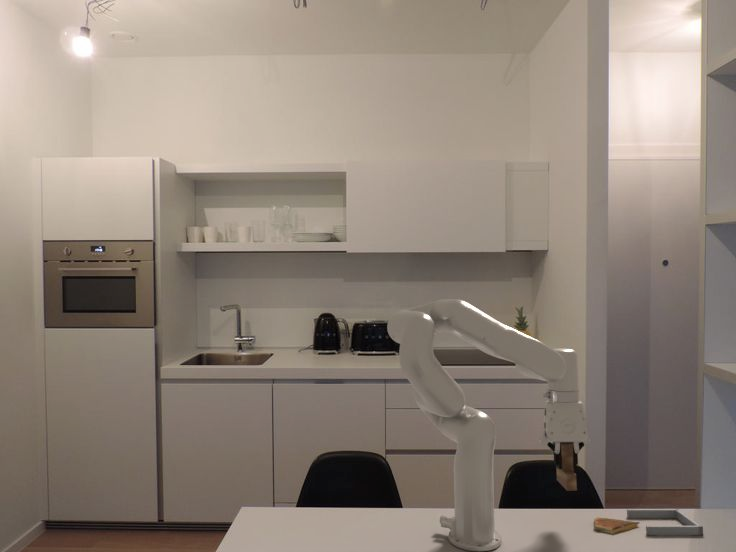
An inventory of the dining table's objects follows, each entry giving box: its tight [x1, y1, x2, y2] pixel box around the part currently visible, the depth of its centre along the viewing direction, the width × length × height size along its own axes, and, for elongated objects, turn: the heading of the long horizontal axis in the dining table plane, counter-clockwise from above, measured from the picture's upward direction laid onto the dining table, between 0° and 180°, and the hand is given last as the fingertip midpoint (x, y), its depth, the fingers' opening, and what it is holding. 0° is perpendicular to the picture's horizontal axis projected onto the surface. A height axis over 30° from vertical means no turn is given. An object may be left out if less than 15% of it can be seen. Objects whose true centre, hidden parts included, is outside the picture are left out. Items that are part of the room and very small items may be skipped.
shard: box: [593, 517, 640, 535], centre depth 140 cm, size 11×8×2 cm
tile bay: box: [626, 508, 704, 536], centre depth 142 cm, size 14×12×2 cm
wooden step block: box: [555, 442, 578, 492], centre depth 144 cm, size 3×8×11 cm, turn 178°
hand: (566, 467), depth 143 cm, fingers closed on wooden step block, 3 cm apart
